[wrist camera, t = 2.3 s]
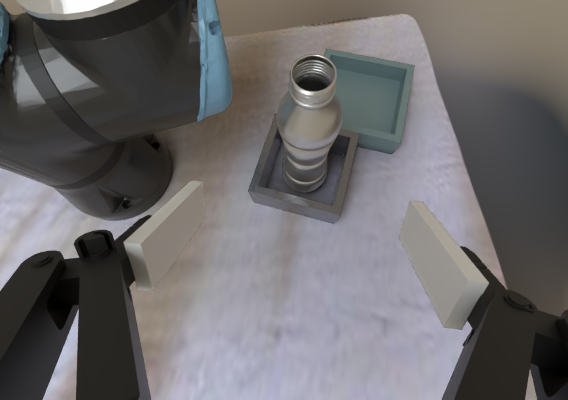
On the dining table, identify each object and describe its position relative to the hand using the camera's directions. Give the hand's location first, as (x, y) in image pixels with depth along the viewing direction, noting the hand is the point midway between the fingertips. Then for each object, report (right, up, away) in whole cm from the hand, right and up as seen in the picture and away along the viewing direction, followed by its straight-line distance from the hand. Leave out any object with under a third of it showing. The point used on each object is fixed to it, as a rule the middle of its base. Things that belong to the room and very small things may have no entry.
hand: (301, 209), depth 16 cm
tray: (+11, +16, +25) cm, 32 cm away
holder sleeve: (+2, +4, +22) cm, 22 cm away
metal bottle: (+2, +4, +22) cm, 23 cm away
